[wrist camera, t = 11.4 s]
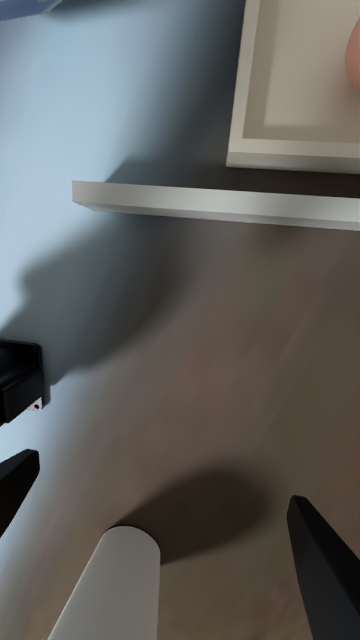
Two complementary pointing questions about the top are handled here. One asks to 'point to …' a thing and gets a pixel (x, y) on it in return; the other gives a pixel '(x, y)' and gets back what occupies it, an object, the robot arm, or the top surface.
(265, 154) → the dish
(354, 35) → the ball
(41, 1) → the ramen bowl
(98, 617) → the cup
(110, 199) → the wall
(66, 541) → the top surface
